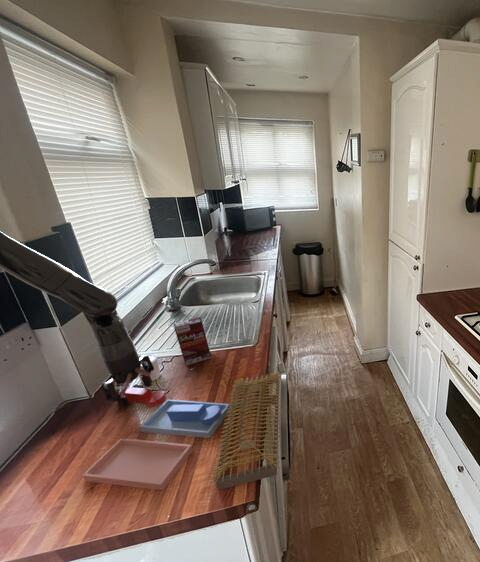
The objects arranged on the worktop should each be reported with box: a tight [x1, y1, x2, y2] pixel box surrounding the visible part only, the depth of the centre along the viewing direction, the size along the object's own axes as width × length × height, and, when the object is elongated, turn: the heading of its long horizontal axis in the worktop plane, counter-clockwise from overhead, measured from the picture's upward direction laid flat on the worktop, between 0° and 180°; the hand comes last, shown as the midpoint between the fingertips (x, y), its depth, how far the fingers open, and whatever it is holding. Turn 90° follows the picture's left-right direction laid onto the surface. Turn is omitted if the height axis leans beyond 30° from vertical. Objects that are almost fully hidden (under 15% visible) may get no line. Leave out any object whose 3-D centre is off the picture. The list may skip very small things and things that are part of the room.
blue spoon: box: [166, 404, 221, 425], centre depth 86 cm, size 15×5×4 cm, turn 83°
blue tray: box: [139, 398, 231, 439], centre depth 87 cm, size 20×10×2 cm, turn 83°
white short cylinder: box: [138, 354, 161, 383], centre depth 104 cm, size 7×7×7 cm
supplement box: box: [173, 316, 212, 367], centre depth 111 cm, size 9×5×16 cm, turn 123°
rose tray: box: [81, 437, 194, 491], centre depth 74 cm, size 20×10×2 cm, turn 83°
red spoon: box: [119, 386, 167, 408], centre depth 95 cm, size 15×5×4 cm, turn 83°
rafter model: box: [209, 370, 281, 491], centre depth 84 cm, size 35×14×6 cm, turn 15°
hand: (137, 395), depth 95 cm, fingers open, 8 cm apart
